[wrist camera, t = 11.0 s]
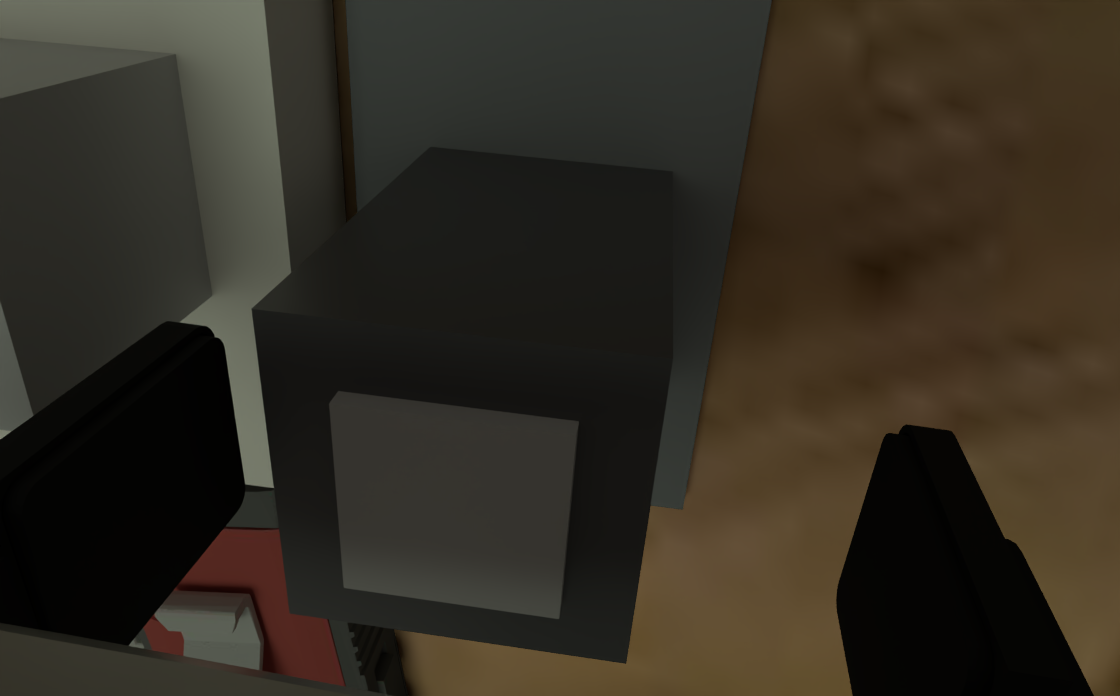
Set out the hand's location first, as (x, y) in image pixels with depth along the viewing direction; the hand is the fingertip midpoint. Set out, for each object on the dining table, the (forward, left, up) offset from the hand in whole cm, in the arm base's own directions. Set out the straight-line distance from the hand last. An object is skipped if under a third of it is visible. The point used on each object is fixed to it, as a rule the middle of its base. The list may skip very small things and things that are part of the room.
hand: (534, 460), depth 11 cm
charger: (+1, 0, -7) cm, 7 cm away
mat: (+1, 0, -8) cm, 8 cm away
